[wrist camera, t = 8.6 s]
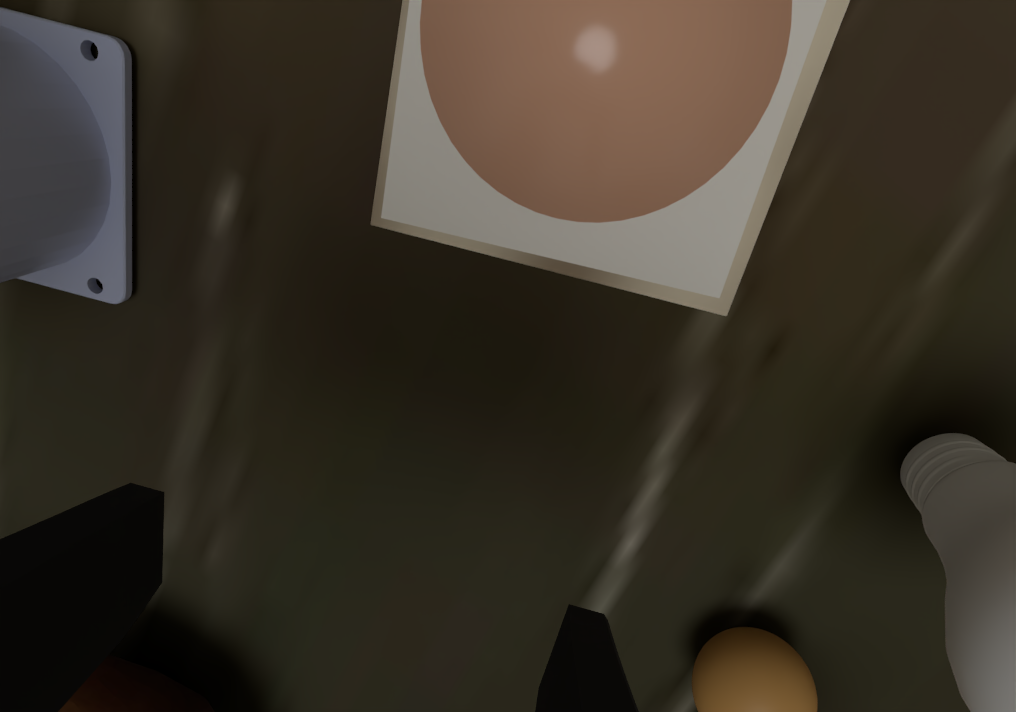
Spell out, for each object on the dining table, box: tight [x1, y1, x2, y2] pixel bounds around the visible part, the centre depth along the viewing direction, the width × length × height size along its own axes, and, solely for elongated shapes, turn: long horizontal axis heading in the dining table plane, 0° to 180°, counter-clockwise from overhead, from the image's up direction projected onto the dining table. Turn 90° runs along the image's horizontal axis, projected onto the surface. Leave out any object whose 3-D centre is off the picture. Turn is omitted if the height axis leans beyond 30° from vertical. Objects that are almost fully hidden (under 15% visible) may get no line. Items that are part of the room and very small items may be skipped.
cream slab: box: [381, 0, 827, 298], centre depth 14 cm, size 8×8×2 cm
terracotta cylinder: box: [420, 0, 792, 223], centre depth 11 cm, size 5×5×5 cm
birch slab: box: [370, 0, 850, 316], centre depth 16 cm, size 10×10×2 cm
